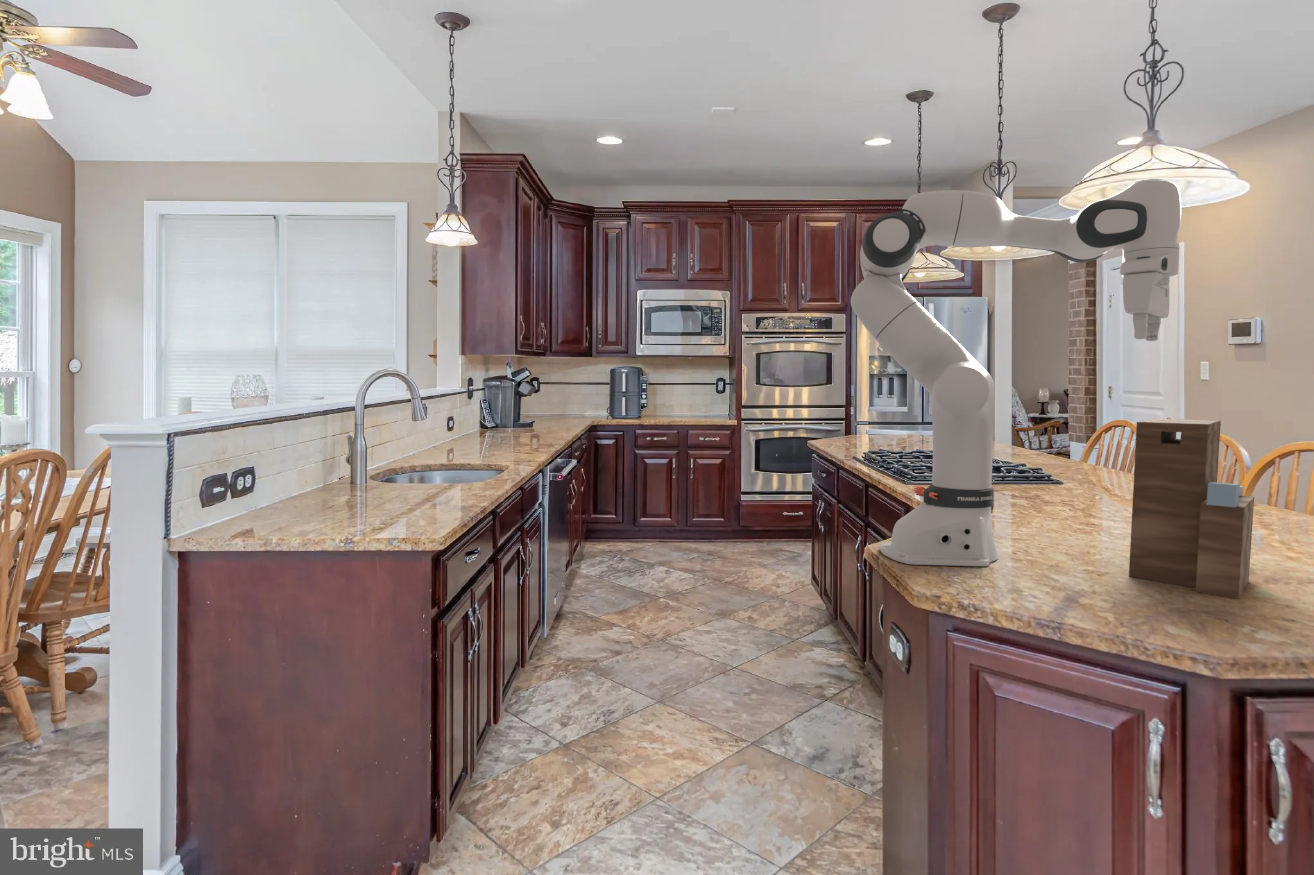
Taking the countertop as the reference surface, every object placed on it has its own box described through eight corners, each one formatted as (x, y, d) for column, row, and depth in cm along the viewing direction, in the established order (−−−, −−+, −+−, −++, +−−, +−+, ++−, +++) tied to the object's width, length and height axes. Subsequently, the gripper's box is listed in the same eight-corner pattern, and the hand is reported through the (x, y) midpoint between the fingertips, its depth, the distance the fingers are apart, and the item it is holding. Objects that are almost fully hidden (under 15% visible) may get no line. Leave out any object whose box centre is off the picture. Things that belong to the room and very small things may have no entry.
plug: (1234, 507, 109) (1236, 485, 109) (1206, 504, 111) (1208, 482, 111) (1249, 501, 122) (1250, 481, 122) (1224, 498, 125) (1225, 479, 125)
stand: (1238, 598, 112) (1249, 426, 109) (1125, 579, 123) (1133, 422, 120) (1250, 577, 123) (1260, 421, 121) (1146, 562, 134) (1153, 418, 132)
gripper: (1142, 275, 142) (1139, 342, 143) (1117, 263, 128) (1113, 338, 129) (1180, 271, 137) (1176, 341, 139) (1158, 259, 123) (1154, 337, 124)
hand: (1146, 340), depth 134 cm, fingers open, 8 cm apart
